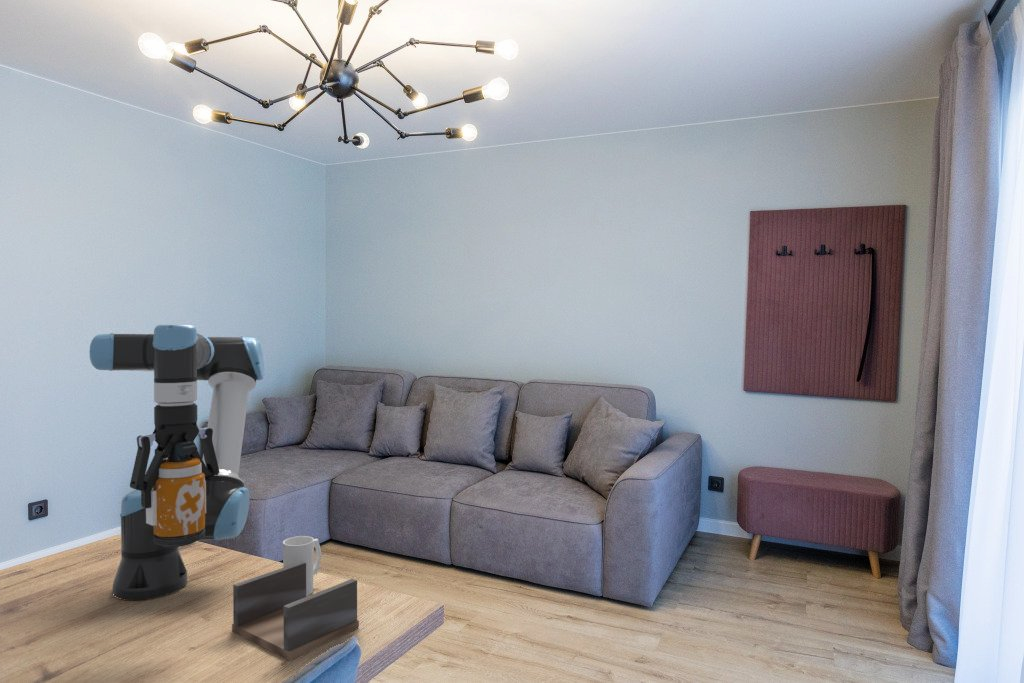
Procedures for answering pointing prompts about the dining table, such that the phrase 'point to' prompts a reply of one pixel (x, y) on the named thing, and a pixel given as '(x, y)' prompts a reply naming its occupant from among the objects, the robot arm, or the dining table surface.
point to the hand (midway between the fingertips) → (176, 517)
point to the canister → (180, 498)
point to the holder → (292, 611)
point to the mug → (303, 556)
